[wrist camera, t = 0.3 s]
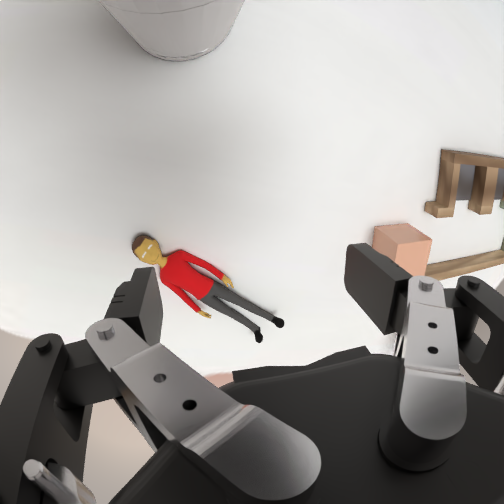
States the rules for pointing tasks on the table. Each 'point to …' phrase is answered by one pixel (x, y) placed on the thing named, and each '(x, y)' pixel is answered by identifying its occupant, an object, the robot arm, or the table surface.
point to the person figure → (198, 283)
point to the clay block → (403, 246)
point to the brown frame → (480, 201)
